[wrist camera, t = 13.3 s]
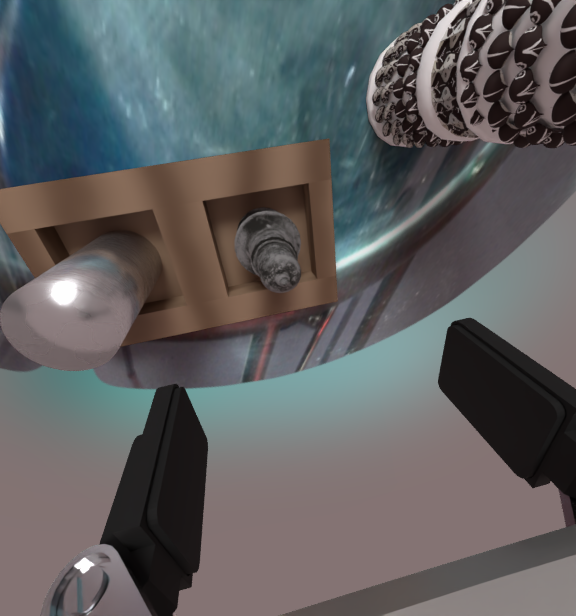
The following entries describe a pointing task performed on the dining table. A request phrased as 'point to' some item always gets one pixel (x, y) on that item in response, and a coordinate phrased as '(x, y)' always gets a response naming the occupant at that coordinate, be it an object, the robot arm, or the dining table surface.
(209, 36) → the dining table surface
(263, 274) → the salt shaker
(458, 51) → the decorative candle
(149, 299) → the compartment tray
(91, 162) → the dining table surface
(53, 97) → the dining table surface
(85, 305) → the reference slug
